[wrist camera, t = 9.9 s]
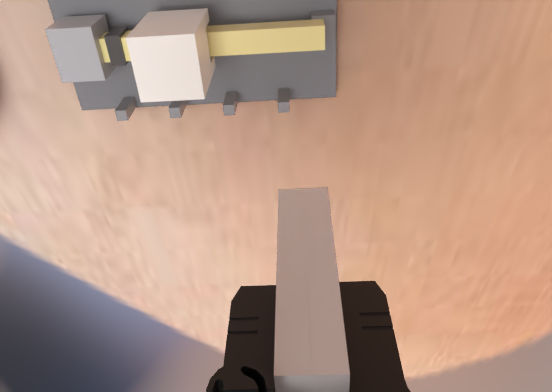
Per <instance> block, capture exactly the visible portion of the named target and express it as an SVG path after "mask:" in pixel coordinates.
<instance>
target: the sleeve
mask: <svg viewBox="0 0 552 392" xmlns="http://www.w3.org/2000/svg"><path fill="white" fill-rule="evenodd" d="M208 22H209V14H208V8H202V9H186V10H170V11H153V12H148V13H147V14H146V15H145V16H144V17H143V19H142V20H141V21H140V22H139V23H138V24H137V25H136V27H135V28H134V29H133V30H132V31H131V32H130V33H129V34H128V36H127V37H126V42H127V46H128V51H129V55H130V59H131V63H132V67H133V72H134V76H135V80H136V84H137V88H138V93H139V97H140V101H141V102H161V101H180V100H199V99H205V97H206V94H207V91H208V88H209V85H210V82H211V79H212V76H213V73H214V70H215V67H216V65H215V58H214V56H212V57H210V53H209V46H208V39H207V32H206V27H207V24H208Z"/></svg>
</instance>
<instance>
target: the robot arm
mask: <svg viewBox="0 0 552 392" xmlns="http://www.w3.org/2000/svg"><path fill="white" fill-rule="evenodd" d="M229 318H230V321H229V325H228V335H227V341H226V349H225V358H224V366H223V367H222V368H220V369H218V371H217V372H216V373H215V374H214V375H213V376H212V377H211V379H210V381H209V384H208V386H207V389H206V392H410V390H409V389H408V387H407V385H406V382H405V379H404V375H403V370H402V366H401V361H400V357H399V352H398V348H397V343H396V339H395V334H394V330H393V325H392V321H391V316H390V312H389V307H388V303H387V298H386V295H385V294H384V292H383V291H382V290H381V288H380V287H379V286H378V285H377V283H376V282H375V281H357V282H339V278H338V270H337V262H336V253H335V245H334V236H333V228H332V220H331V211H330V203H329V195H328V187H321V188H297V189H279V196H278V234H277V272H276V285H267V286H241V287H240V289H239V290H238V292H237V293H236V295H235V297H234V298H233V300H232V301H231V309H230V317H229Z"/></svg>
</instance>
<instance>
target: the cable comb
mask: <svg viewBox="0 0 552 392" xmlns="http://www.w3.org/2000/svg"><path fill="white" fill-rule="evenodd" d="M48 3H49V6H50V9H51V12H52V16H53V19H54V22H55V23H53V24H52V25H51V26H49V27H48V28H46V29H45V31H46V34H47V37H48V40H49V43H50V47H51V50H52V53H53V56H54V59H55V62H56V65H57V68H58V71H59V74H60V77H61V80H62V83H67V82H73V83H74V86H75V89H76V92H77V95H78V99H79V102H80V105H81V108H82V110H94V109H114V108H116V110H115V113H116V117H117V121H123V120H129V118H130V116H131V115H132V113H133V111H134V110H135V108H136V107H152V106H169V113H170V118H181V117H182V114H183V112H184V109H185V107H186V105H191V104H210V103H223V110H224V115H235V112H236V107H237V102H249V101H268V100H278V113H282V112H289V99H307V98H326V97H336V31H337V0H48ZM202 8H208V14H209V22H208V24H207V27H206V32H207V39H208V46H209V53H210V57H212V56H214V58H215V65H216V67H215V70H214V73H213V76H212V79H211V82H210V85H209V88H208V91H207V94H206V97H205V99H199V100H180V101H161V102H141V101H140V97H139V93H138V88H137V84H136V80H135V76H134V72H133V67H132V63H131V59H130V55H129V51H128V46H127V42H126V37H127V36H128V34H129V33H130V32H131V31H132V30H133V29H134V28H135V27H136V25H137V24H138V23H139V22H140V21H141V20H142V19H143V17H144V16H145V15H146V14H147V13H148V12H153V11H170V10H186V9H202Z"/></svg>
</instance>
